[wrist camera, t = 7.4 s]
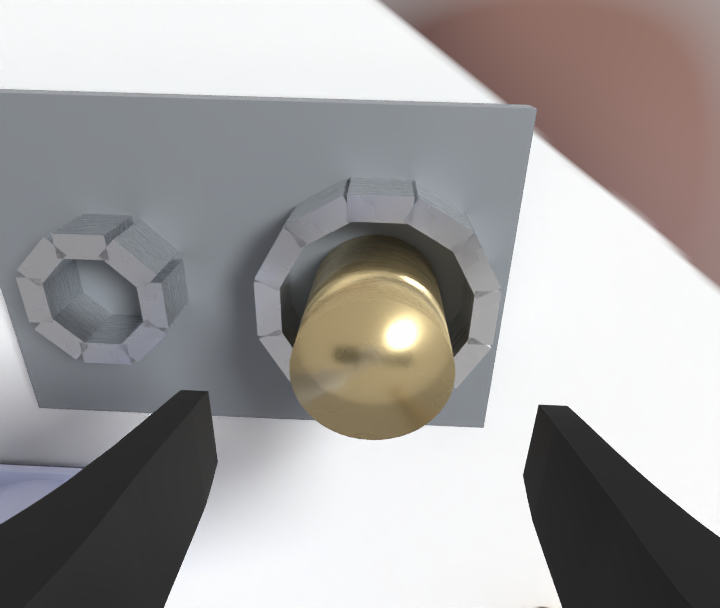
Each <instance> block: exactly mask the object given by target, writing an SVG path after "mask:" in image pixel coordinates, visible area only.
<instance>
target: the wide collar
mask: <svg viewBox="0 0 720 608" xmlns="http://www.w3.org/2000/svg"><path fill="white" fill-rule="evenodd" d="M350 222H373V223H401V224H409V225H410V226H412V227H414V228H415V229H417V230H419V231H420V232H422V233H423V234H425V235H427V236H428V237H430V238H432V239H433V240H435V241H437V242H438V243H440V244H441V245H443V246H445V247H446V248H448V249H450V250H451V251H453V253H454V255H455V257H456V259H457V261H458V263H459V265H460V267H461V269H462V271H463V273H464V275H465V277H464V285H463V293H462V301H461V309H460V312H459V313H458V314H457V316H456V317H455V318H454V319H453V321H452V322H451V323H450V324H449V326H448V327H447V328H448V333H449V338H450V343H451V347H452V352H453V357H454V363H455V381H454V388H457V387H458V386H459V385H460V384H461V383H462V382H463V380H464V379H465V378H466V377H467V376H468V375H469V373H470V372H471V371H472V370H473V369H474V368H475V367H476V365H477V364H478V363H479V362H480V361H481V360H482V358H483V357H484V356H485V355H486V354H487V353H488V352H489V350H490V349H491V346H490V345H493V341H494V335H495V329H496V323H497V317H498V311H499V305H500V298H501V289H500V288H501V287H500V285H499V283H498V280H497V278H496V276H495V274H494V272H493V270H492V268H491V265H490V263H489V261H488V259H487V257H486V255H485V253H484V251H483V248H482V246H481V244H480V242H479V240H478V238H477V236H476V233H475V231H474V229H473V227H472V225H471V223H470V221H469V219H468V216H467V215H465V213H464V211H462V210H461V209H459V208H457V207H456V206H454V205H453V204H451V203H450V202H448V201H446V200H445V199H443V198H442V197H440V196H439V195H437V194H435V193H434V192H432V191H431V190H429V189H428V188H426V187H424V186H423V185H421V184H420V183H418V182H417V181H415V182H414V183H413V185H412V181H411V179H385V178H355V177H351V179H350V183H349V181H348V179H345V180H343V181H341V182H339V183H337V184H336V185H334V186H332V187H330V188H328V189H326V190H324V191H323V192H321V193H319V194H317V195H315V196H313V197H311V198H310V199H308V200H306V201H304V202H302V203H300V204H299V205H297V206H296V207H295V209H293V210H292V212H291V214H290V215H289V217H288V219H287V221H286V222H285V224H284V226H283V228H282V229H281V231H280V233H279V235H278V236H277V238H276V240H275V242H274V243H273V245H272V247H271V249H270V251H269V252H268V254H267V256H266V258H265V260H264V262H263V263H262V265H261V267H260V269H259V271H258V273H257V275H256V277H255V278H254V279H255V281H254V294H255V307H256V321H257V334H258V336H260V338H259V340H260V341H261V342H262V344H263V345H264V347H265V348H266V349H267V351H268V352H269V354H270V355H271V356H272V358H273V359H274V360H275V362H276V363H277V365H278V366H279V367H280V369H281V370H282V372H283V373H284V374H285V376H286V377H287V378H288V380H289V381H290V374H289V364H290V358H291V353H292V350H293V347H294V343H295V340H296V337H297V334H298V330H299V327H300V324H301V321H302V319H301V318H300V316H299V315H298V313H297V312H296V310H295V309H294V307H293V306H292V302H291V277H290V270H291V268H292V266H293V265H294V263H295V261H296V260H297V258H298V256H299V254H300V253H301V251H302V249H303V248H304V246H306V245H308V244H310V243H312V242H314V241H316V240H317V239H319V238H321V237H323V236H325V235H327V234H329V233H331V232H333V231H335V230H337V229H339V228H341V227H343V226H345V225H347V224H348V223H350ZM452 391H453V390H452Z"/></svg>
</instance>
